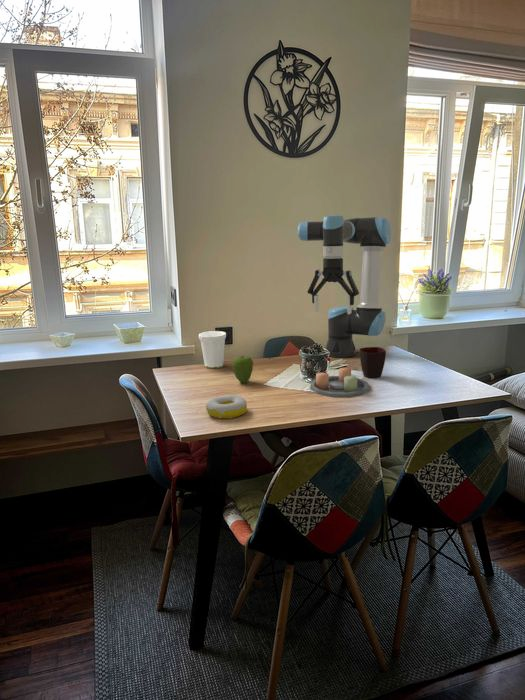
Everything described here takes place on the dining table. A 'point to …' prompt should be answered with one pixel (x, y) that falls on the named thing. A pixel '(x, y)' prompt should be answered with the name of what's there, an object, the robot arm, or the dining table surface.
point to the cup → (213, 347)
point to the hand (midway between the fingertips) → (332, 312)
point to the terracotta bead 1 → (322, 381)
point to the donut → (226, 406)
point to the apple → (243, 368)
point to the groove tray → (340, 388)
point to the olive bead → (350, 384)
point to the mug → (372, 361)
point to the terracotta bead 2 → (344, 373)
